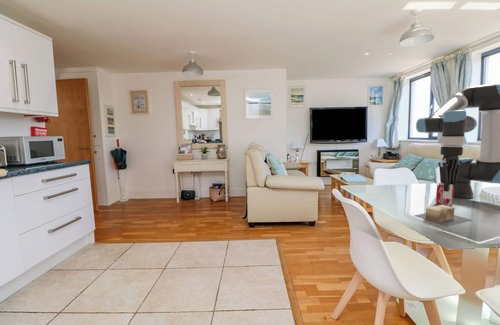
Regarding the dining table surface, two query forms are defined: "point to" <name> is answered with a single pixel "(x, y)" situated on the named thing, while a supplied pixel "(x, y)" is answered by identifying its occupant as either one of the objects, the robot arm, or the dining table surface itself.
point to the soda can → (439, 196)
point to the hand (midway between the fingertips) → (447, 198)
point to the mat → (447, 222)
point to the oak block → (439, 213)
